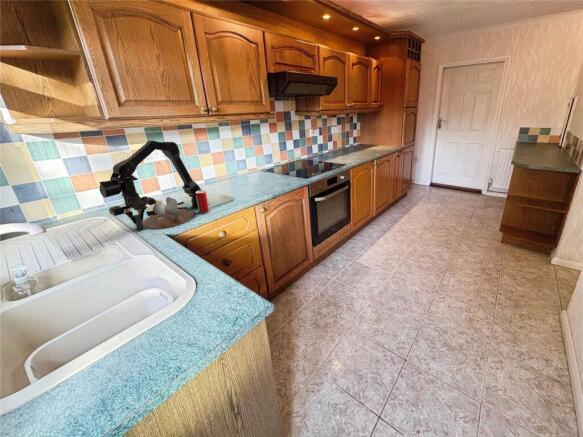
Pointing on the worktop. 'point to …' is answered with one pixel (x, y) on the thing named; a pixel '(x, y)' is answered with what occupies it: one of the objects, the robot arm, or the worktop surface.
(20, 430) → the worktop surface
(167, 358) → the worktop surface
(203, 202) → the soda can
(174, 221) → the turntable
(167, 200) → the decorative toy
